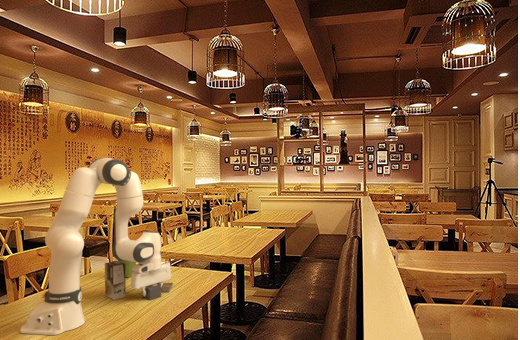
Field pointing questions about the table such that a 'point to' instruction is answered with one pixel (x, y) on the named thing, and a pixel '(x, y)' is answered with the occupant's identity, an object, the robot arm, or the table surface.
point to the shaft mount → (166, 287)
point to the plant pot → (128, 268)
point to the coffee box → (115, 280)
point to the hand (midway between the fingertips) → (152, 293)
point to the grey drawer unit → (153, 292)
